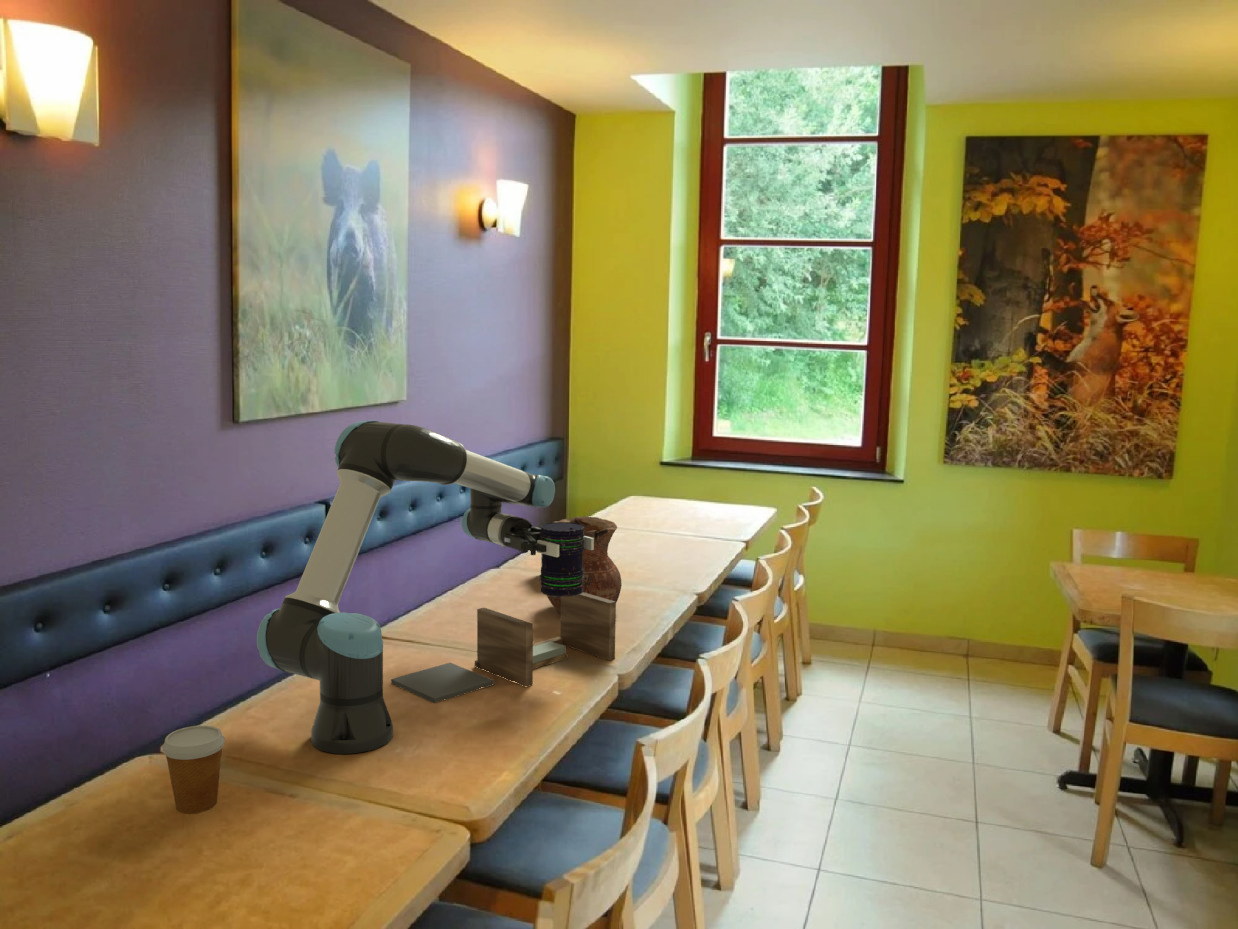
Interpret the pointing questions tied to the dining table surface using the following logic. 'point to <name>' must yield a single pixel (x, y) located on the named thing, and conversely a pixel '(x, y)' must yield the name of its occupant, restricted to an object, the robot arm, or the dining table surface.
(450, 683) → the charcoal mat
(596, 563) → the jug
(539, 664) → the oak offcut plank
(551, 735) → the dining table surface
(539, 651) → the grey offcut plank
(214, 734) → the disposable coffee cup
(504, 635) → the wooden bookend pair
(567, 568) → the dark blue cylinder
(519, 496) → the robot arm
